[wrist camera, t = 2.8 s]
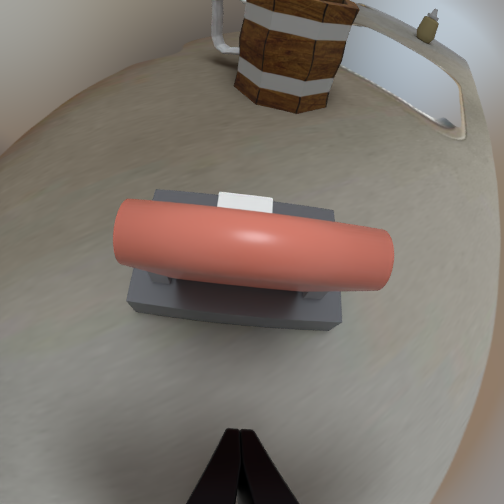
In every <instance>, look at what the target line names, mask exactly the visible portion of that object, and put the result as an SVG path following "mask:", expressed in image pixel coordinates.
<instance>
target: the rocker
mask: <svg viewBox="0 0 504 504" xmlns="http://www.w3.org/2000/svg"><path fill="white" fill-rule="evenodd" d="M113 246H114V253H115V257H116V259H117V261H118V262H119V263H120V264H122V265H126V266H129V267H133V268H137V269H140V270H144V271H148V272H152V273H155V274H159V275H163V276H167V277H171V278H175V279H183V280H191V281H200V282H208V283H217V284H227V285H236V286H246V287H256V288H266V289H277V290H288V291H299V292H326V291H377V290H380V289H382V288H383V287H384V286H385V285H386V283H387V282H388V280H389V278H390V275H391V272H392V268H393V262H394V247H393V242H392V239H391V237H390V235H389V234H388V232H387V231H385V230H382V229H377V228H371V227H364V226H358V225H352V224H345V223H339V222H332V221H326V220H319V219H312V218H305V217H297V216H290V215H282V214H275V213H267V212H259V211H250V210H242V209H233V208H224V207H215V206H205V205H195V204H185V203H174V202H163V201H151V200H139V199H126V200H125V201H124V202H123V203H122V204H121V206H120V208H119V210H118V213H117V216H116V220H115V225H114V233H113Z"/></svg>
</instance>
